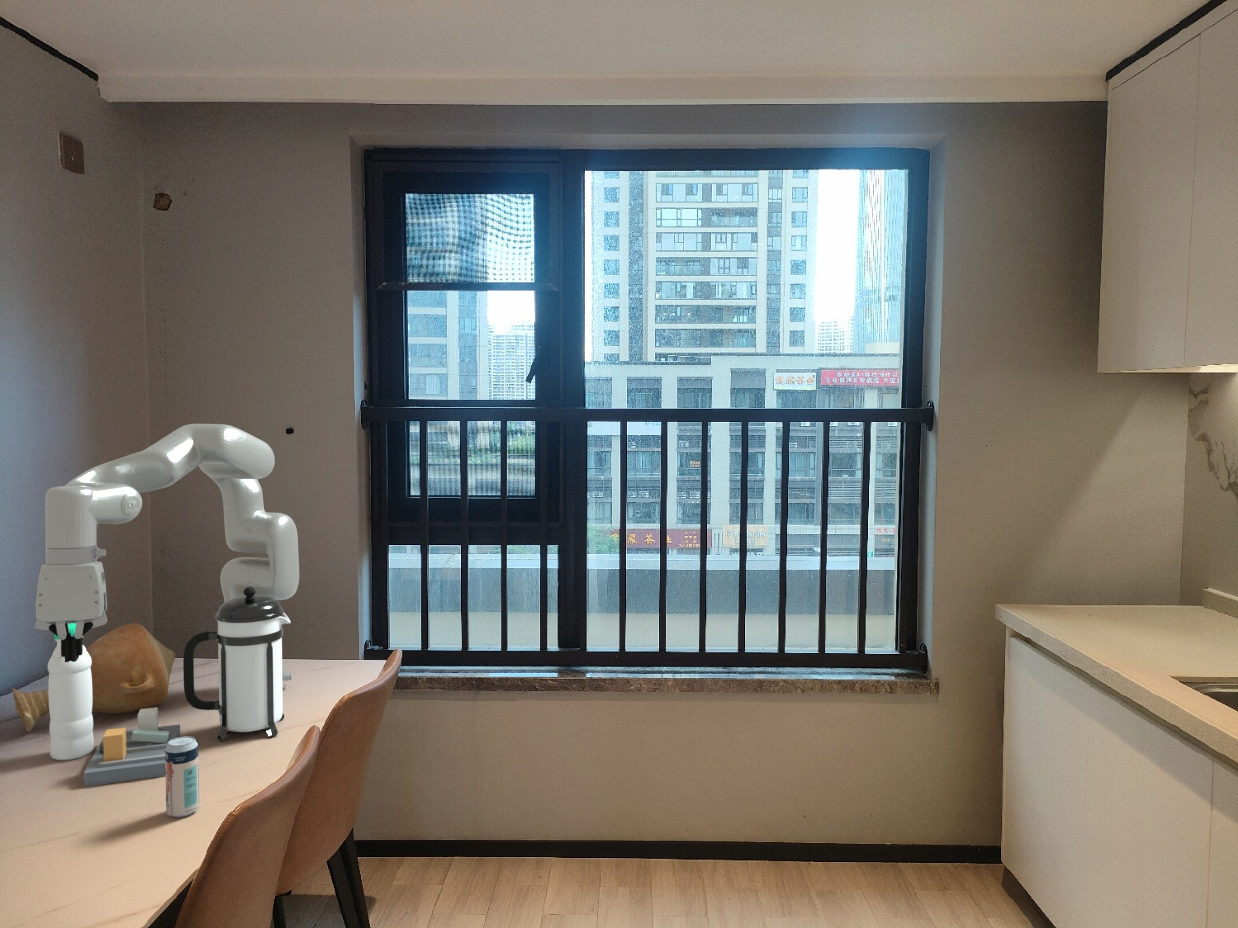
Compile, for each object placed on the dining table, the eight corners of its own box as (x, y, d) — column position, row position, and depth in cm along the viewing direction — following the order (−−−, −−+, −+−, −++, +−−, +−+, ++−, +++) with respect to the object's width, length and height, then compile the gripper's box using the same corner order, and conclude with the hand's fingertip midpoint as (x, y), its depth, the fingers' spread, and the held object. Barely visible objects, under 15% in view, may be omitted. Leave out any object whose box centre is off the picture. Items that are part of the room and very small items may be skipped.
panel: (180, 735, 171) (179, 718, 170) (167, 775, 152) (167, 755, 152) (106, 744, 166) (105, 726, 166) (84, 786, 147) (83, 766, 147)
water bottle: (102, 749, 163) (99, 622, 162) (68, 763, 157) (64, 631, 155) (76, 744, 166) (72, 619, 164) (41, 758, 159) (37, 627, 157)
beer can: (174, 805, 141) (172, 735, 140) (203, 805, 141) (202, 734, 140) (161, 819, 136) (159, 746, 135) (191, 818, 136) (190, 746, 135)
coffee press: (261, 710, 185) (259, 575, 184) (305, 727, 176) (303, 585, 174) (182, 734, 171) (179, 588, 170) (225, 753, 162) (223, 599, 160)
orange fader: (126, 753, 155) (125, 727, 155) (123, 760, 152) (122, 734, 152) (107, 755, 154) (107, 729, 154) (103, 763, 151) (103, 736, 151)
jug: (195, 662, 181) (29, 712, 160) (186, 714, 191) (29, 768, 170) (161, 596, 191) (1, 635, 170) (155, 650, 201) (3, 693, 180)
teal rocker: (167, 738, 162) (169, 731, 162) (166, 742, 160) (167, 735, 160) (132, 736, 160) (134, 728, 160) (130, 740, 158) (132, 732, 158)
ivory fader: (158, 731, 166) (157, 707, 166) (155, 738, 163) (155, 713, 163) (141, 733, 165) (140, 708, 165) (138, 740, 162) (137, 715, 162)
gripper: (123, 552, 154) (124, 651, 155) (26, 555, 148) (27, 658, 149) (116, 557, 147) (117, 661, 148) (14, 561, 141) (15, 669, 142)
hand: (71, 659), depth 148 cm, fingers closed
